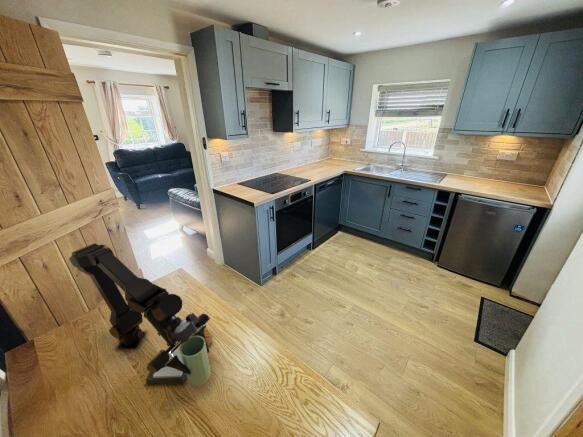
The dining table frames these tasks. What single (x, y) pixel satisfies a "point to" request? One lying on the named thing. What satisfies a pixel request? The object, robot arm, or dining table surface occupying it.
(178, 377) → the scale
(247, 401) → the dining table surface
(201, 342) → the cup
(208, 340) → the pastry
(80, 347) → the dining table surface
